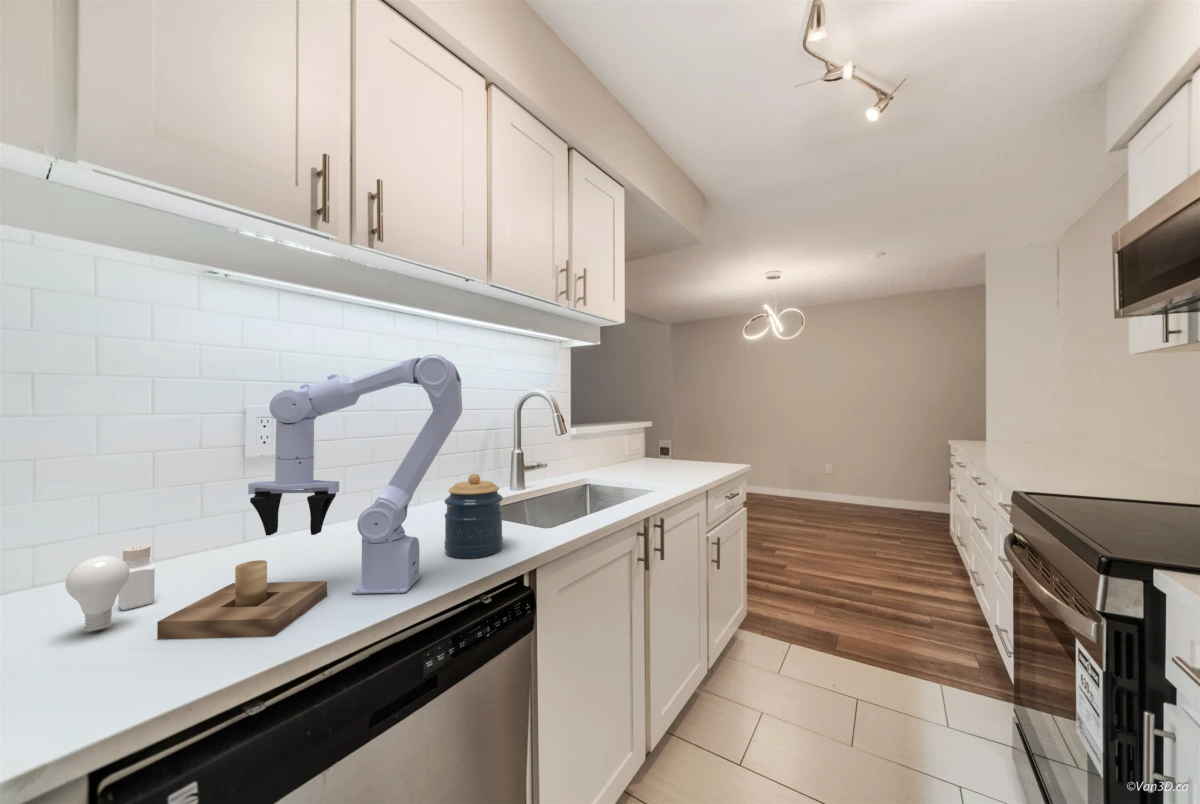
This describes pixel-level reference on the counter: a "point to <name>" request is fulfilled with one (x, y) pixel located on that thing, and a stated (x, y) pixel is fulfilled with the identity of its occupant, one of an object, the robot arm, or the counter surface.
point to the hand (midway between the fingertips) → (293, 533)
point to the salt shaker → (137, 578)
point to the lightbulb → (97, 588)
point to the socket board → (242, 612)
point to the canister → (473, 519)
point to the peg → (251, 583)
